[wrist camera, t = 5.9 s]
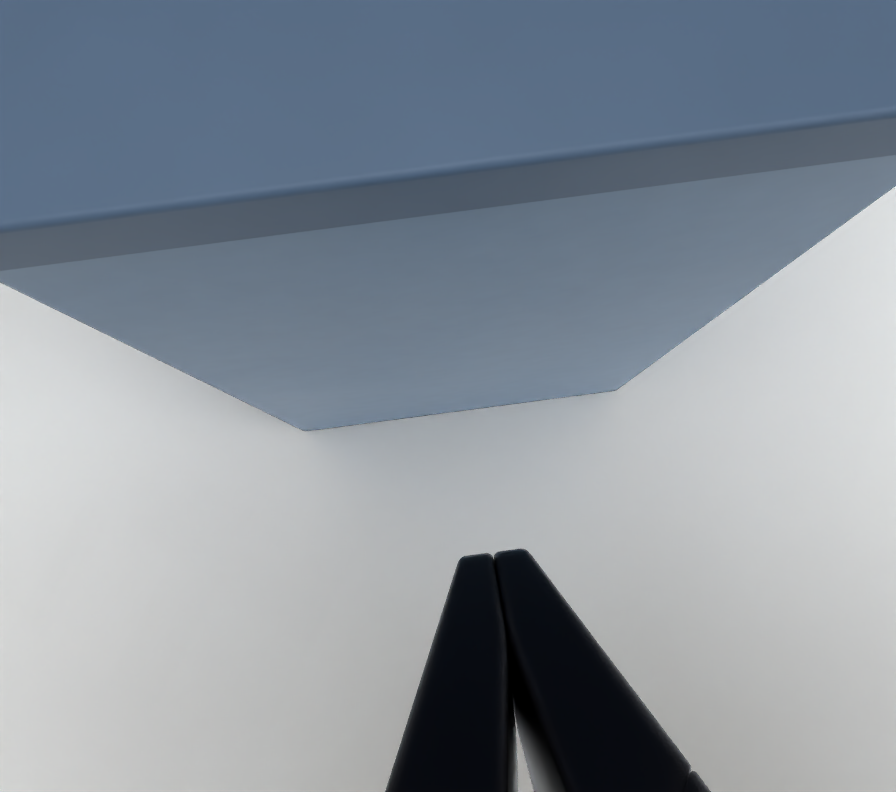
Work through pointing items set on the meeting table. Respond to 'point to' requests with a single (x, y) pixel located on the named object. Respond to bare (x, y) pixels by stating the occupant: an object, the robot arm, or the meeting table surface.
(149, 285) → the storage box
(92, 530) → the meeting table surface
